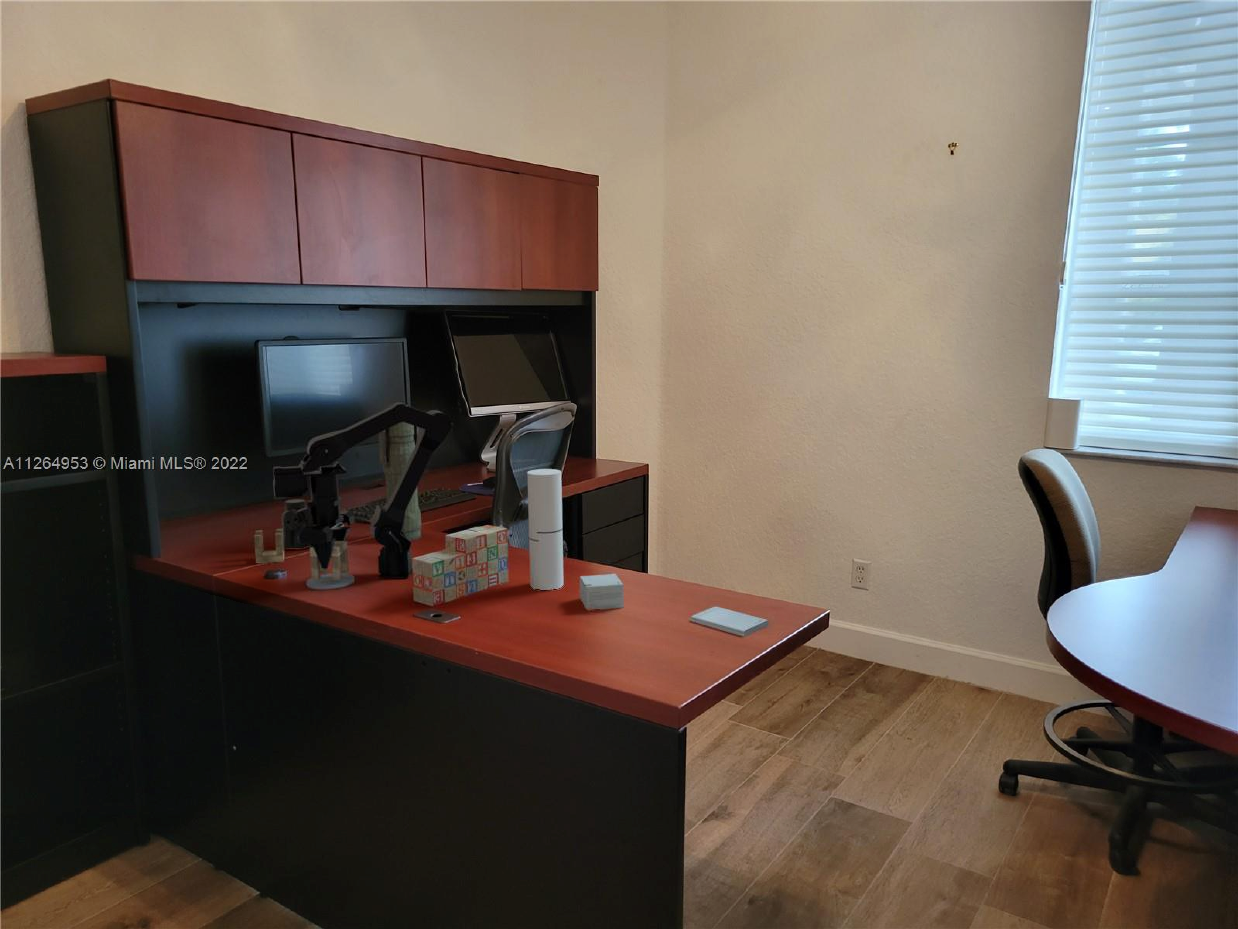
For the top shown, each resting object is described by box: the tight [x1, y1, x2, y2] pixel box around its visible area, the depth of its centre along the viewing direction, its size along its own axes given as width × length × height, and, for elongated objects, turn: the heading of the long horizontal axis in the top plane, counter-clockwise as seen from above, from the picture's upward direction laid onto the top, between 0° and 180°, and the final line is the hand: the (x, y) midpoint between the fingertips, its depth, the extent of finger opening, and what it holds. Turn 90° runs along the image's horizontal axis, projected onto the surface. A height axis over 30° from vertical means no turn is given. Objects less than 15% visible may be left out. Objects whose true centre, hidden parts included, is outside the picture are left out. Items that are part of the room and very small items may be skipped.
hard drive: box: [690, 606, 770, 637], centre depth 168 cm, size 2×8×12 cm
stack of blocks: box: [411, 524, 510, 607], centre depth 188 cm, size 21×6×12 cm, turn 142°
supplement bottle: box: [281, 498, 309, 549], centre depth 224 cm, size 7×7×12 cm
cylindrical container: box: [527, 468, 564, 591], centre depth 190 cm, size 7×7×25 cm
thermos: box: [377, 404, 422, 542], centre depth 231 cm, size 9×12×35 cm
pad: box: [306, 573, 355, 591], centre depth 195 cm, size 10×10×1 cm
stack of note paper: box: [579, 573, 625, 610], centre depth 180 cm, size 8×8×5 cm
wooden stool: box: [309, 540, 349, 580], centre depth 194 cm, size 6×6×7 cm
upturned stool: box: [253, 528, 285, 565], centre depth 213 cm, size 6×6×7 cm
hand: (329, 564), depth 194 cm, fingers closed on wooden stool, 6 cm apart
